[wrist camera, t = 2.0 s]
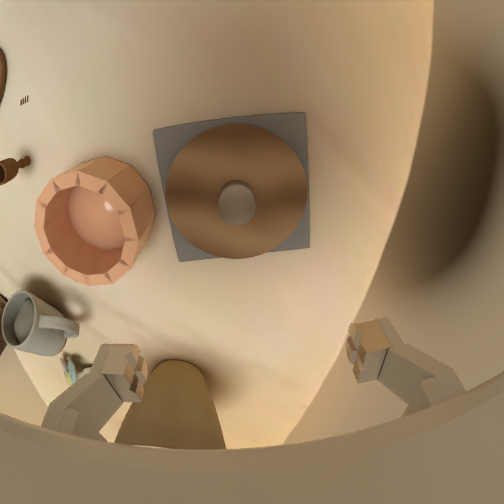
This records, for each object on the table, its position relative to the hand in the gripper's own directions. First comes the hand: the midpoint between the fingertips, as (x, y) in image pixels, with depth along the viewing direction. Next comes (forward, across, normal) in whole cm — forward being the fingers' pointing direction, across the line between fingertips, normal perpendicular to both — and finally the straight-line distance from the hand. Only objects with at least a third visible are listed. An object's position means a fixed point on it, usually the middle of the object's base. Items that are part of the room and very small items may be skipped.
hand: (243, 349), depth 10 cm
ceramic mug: (+20, +27, +12) cm, 36 cm away
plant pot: (+20, +12, +27) cm, 36 cm away
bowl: (+20, +14, 0) cm, 24 cm away
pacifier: (+21, +32, +25) cm, 45 cm away
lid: (+19, 0, 0) cm, 19 cm away
